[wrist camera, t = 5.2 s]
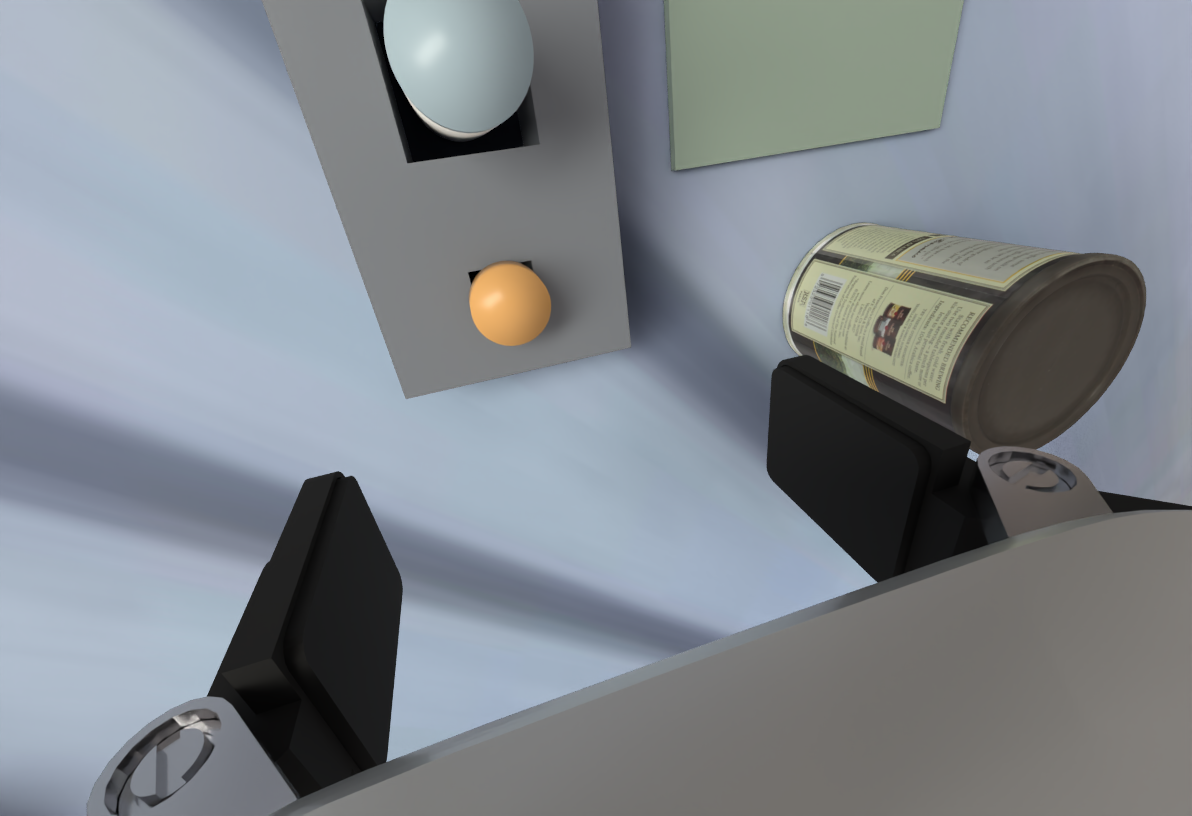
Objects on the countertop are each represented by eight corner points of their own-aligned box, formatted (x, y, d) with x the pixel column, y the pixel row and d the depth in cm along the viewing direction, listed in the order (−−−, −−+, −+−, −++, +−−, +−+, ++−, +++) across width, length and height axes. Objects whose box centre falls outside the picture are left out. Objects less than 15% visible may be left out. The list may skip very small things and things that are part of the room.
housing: (274, -38, 20) (228, -93, 15) (558, -57, 22) (586, -109, 18) (411, 363, 28) (405, 399, 24) (604, 321, 31) (630, 347, 26)
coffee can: (902, 333, 38) (1116, 414, 26) (787, 382, 37) (954, 490, 25) (908, 198, 33) (1180, 220, 21) (774, 251, 32) (978, 306, 20)
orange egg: (457, 252, 26) (461, 275, 20) (523, 240, 26) (543, 259, 21) (474, 317, 27) (481, 353, 22) (536, 304, 28) (557, 336, 23)
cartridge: (393, 38, 22) (360, -43, 13) (489, 28, 23) (518, -53, 14) (422, 147, 24) (410, 140, 15) (509, 135, 25) (544, 122, 16)
